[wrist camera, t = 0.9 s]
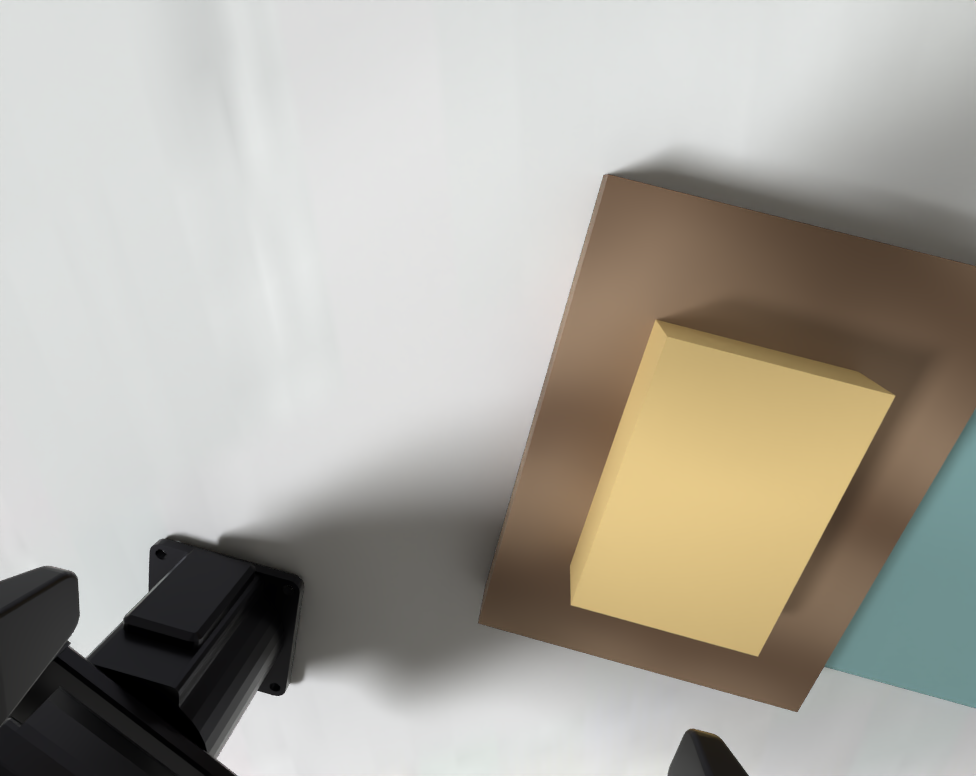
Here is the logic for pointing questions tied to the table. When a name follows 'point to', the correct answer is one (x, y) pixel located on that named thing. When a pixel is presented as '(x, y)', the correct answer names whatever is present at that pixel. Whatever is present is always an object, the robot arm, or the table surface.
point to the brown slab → (759, 321)
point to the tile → (720, 485)
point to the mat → (925, 594)
